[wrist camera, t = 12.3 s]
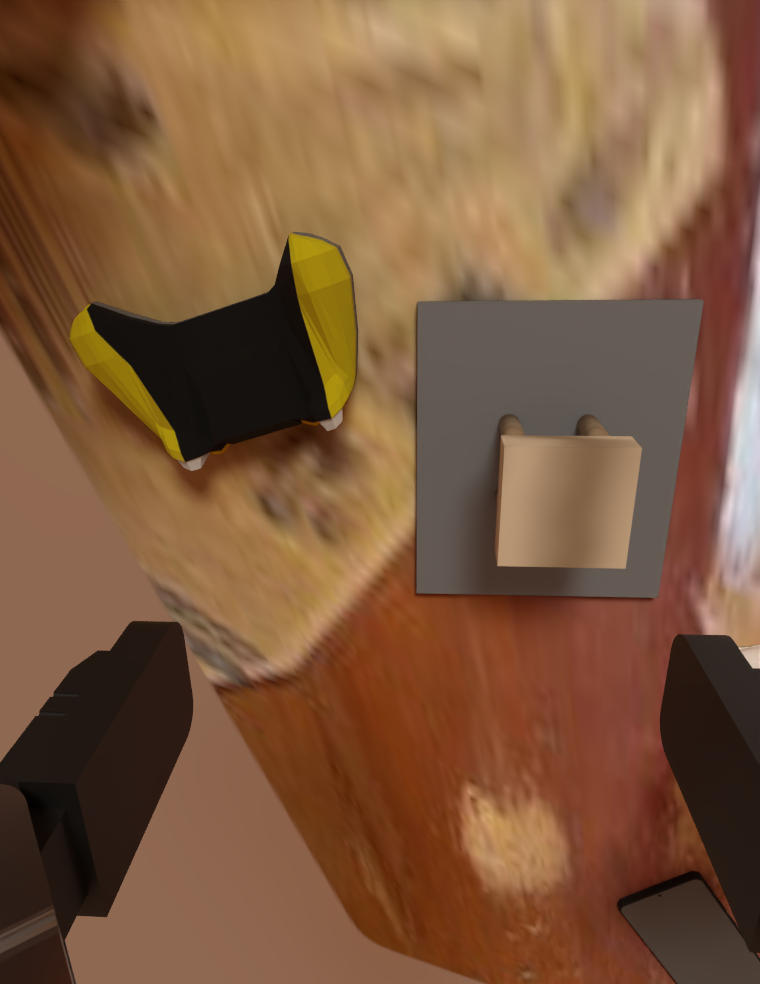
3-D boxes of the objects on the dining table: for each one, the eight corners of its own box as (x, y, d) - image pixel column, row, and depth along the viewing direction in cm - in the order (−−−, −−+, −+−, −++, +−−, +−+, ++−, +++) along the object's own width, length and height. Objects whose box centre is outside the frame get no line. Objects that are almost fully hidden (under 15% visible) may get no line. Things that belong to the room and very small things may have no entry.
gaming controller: (91, 304, 40) (164, 462, 44) (42, 319, 35) (129, 498, 38) (340, 217, 37) (396, 393, 41) (326, 220, 32) (392, 420, 36)
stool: (487, 510, 42) (497, 566, 36) (492, 406, 40) (504, 447, 34) (595, 511, 42) (625, 568, 36) (607, 407, 40) (642, 448, 33)
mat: (417, 301, 39) (417, 303, 38) (699, 299, 38) (703, 300, 37) (416, 588, 46) (416, 593, 45) (654, 592, 45) (657, 597, 44)
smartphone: (700, 1014, 59) (616, 908, 55) (696, 1003, 60) (613, 897, 55) (780, 988, 57) (700, 875, 53) (775, 977, 58) (696, 865, 54)
